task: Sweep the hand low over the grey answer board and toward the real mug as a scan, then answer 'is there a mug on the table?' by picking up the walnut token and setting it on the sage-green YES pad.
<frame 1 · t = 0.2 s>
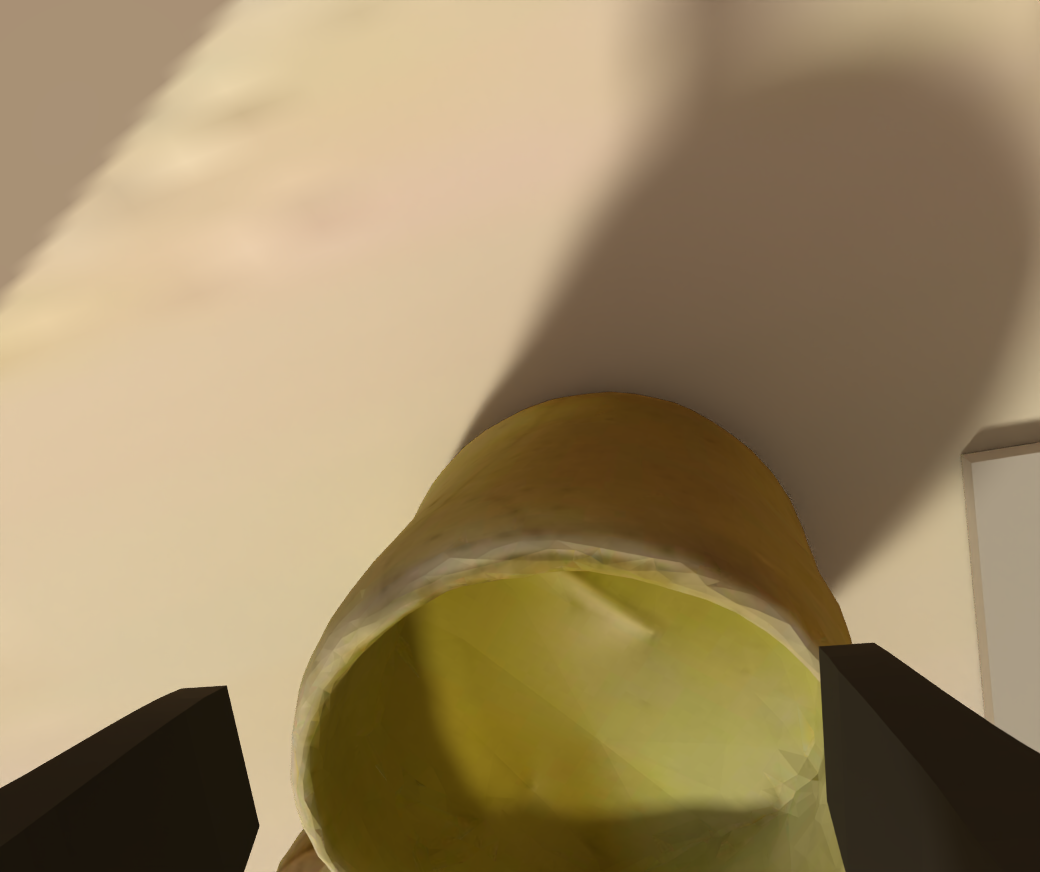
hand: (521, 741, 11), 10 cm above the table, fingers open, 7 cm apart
mug: (545, 611, 22), on the table
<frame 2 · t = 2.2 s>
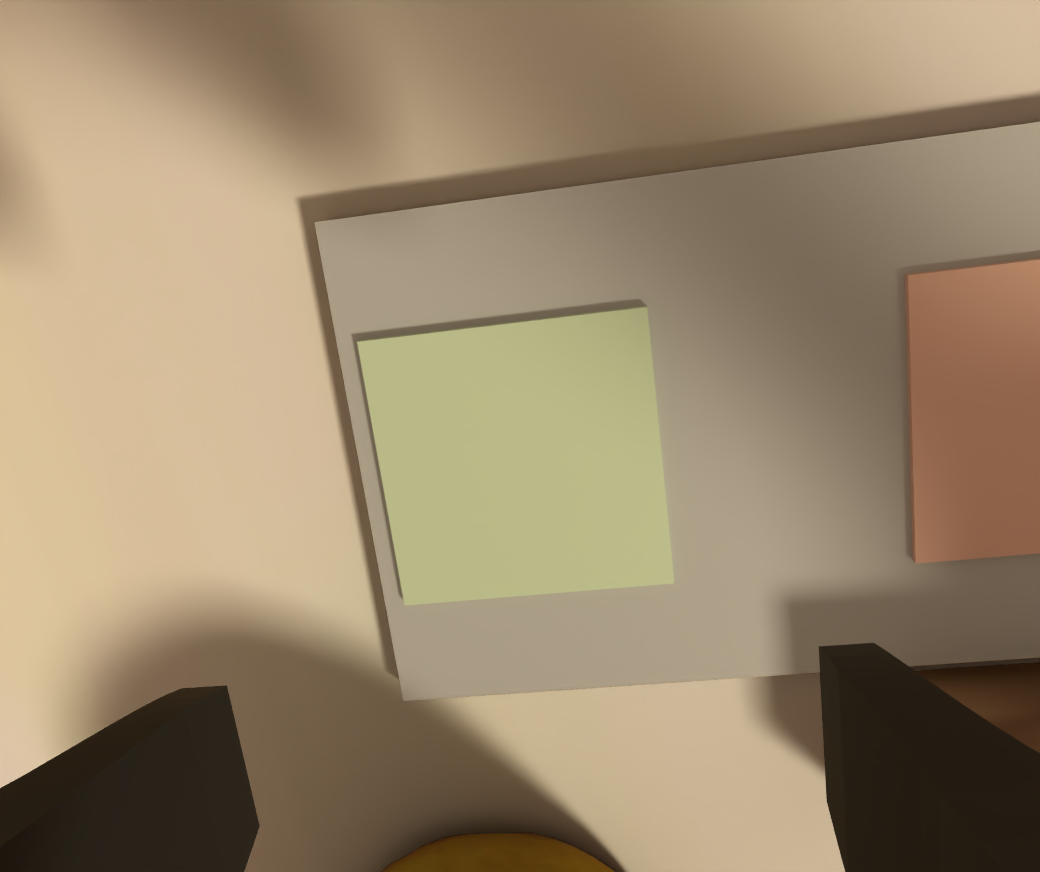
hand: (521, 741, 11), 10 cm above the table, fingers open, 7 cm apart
answer board: (777, 428, 20), on the table
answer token: (976, 742, 21), on the table
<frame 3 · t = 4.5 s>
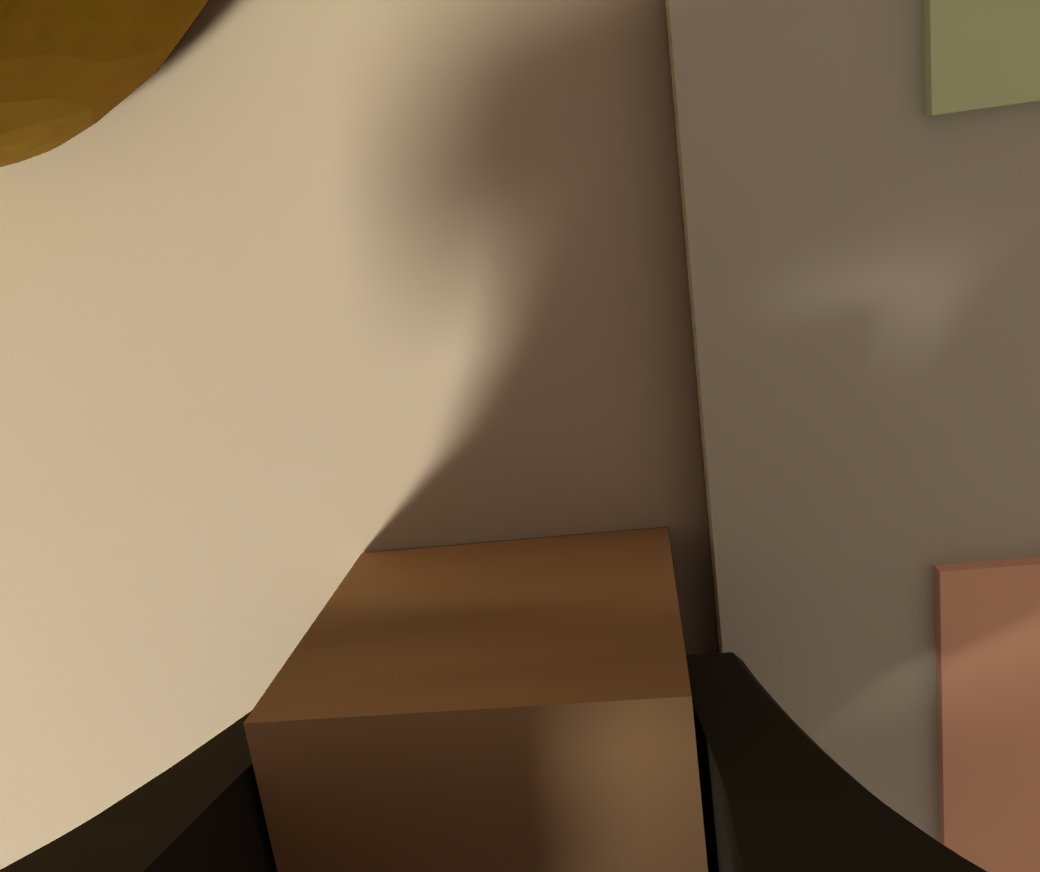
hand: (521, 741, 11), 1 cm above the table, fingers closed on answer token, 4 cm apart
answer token: (530, 679, 12), on the table, touching gripper
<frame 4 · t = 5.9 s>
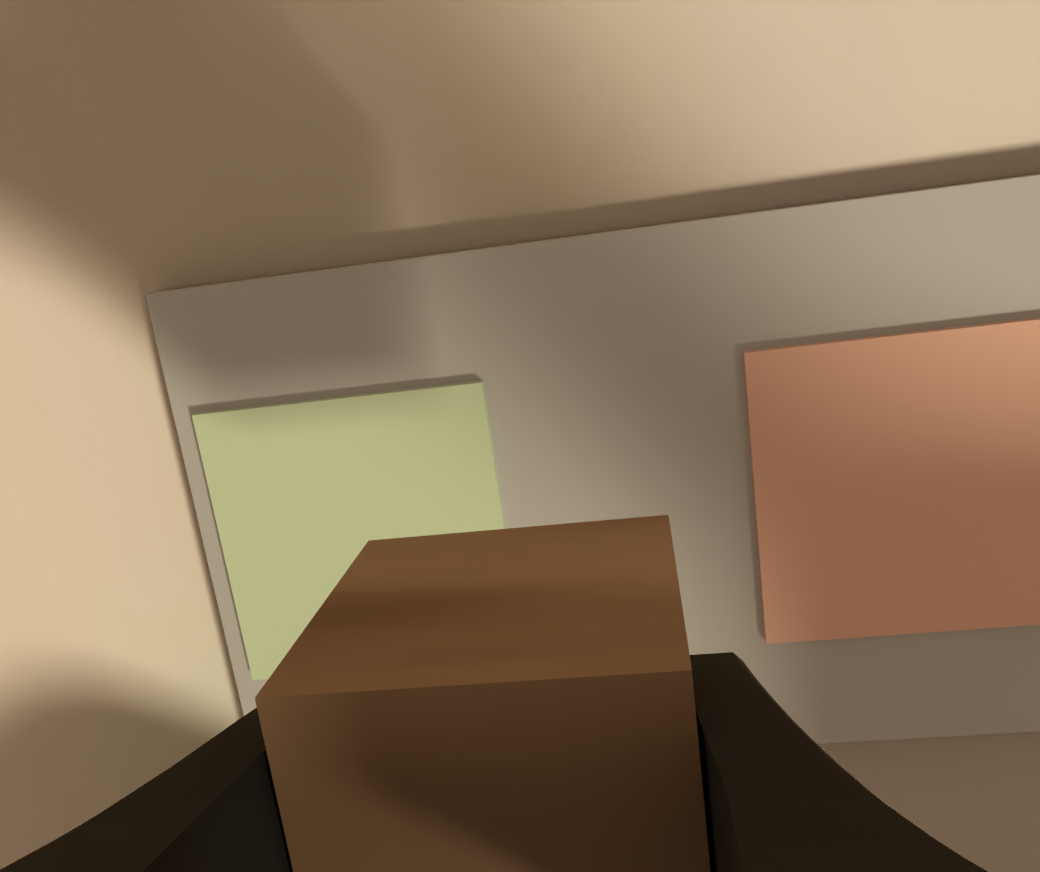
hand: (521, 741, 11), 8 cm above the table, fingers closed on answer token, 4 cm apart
answer board: (626, 502, 19), on the table
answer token: (534, 665, 13), point 7 cm above the table, touching gripper
when the fingers open (3 cm above the table, at t = 7.5 s): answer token stays where it is, resting on answer board.
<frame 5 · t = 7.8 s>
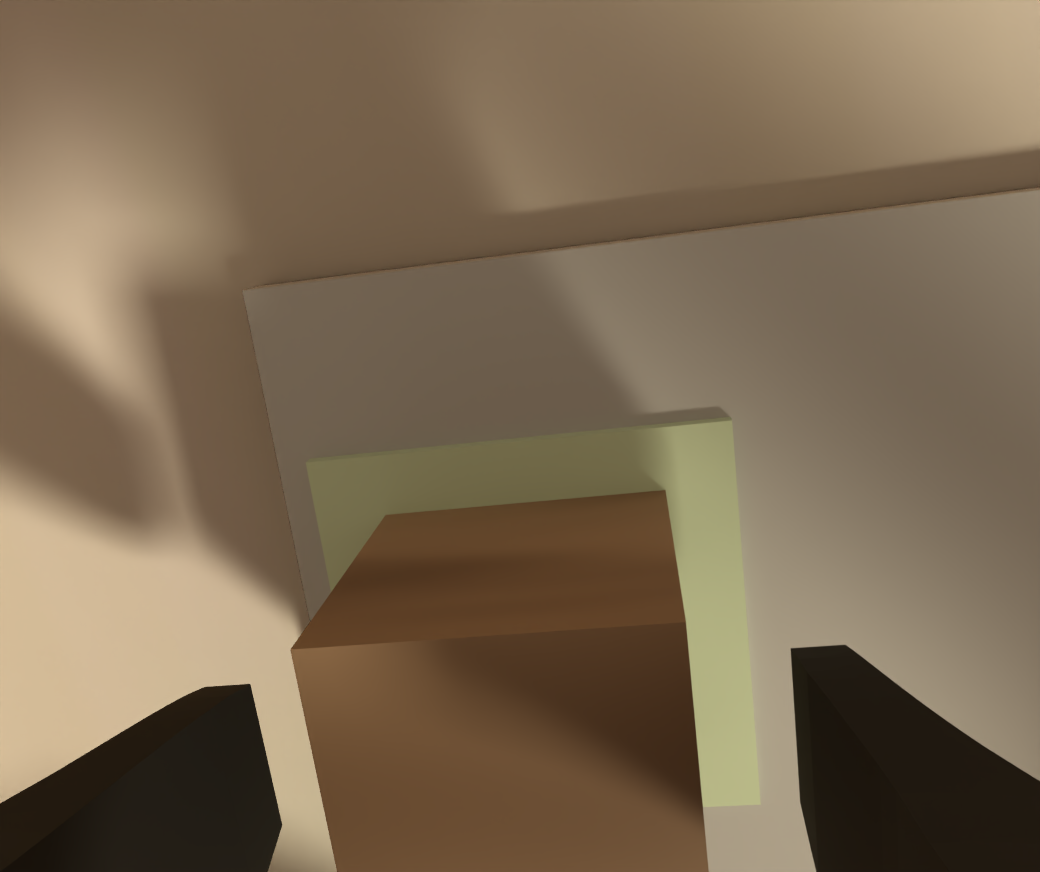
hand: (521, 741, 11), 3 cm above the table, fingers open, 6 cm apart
answer board: (912, 586, 14), on the table
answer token: (540, 631, 13), point 1 cm above the table, touching answer board
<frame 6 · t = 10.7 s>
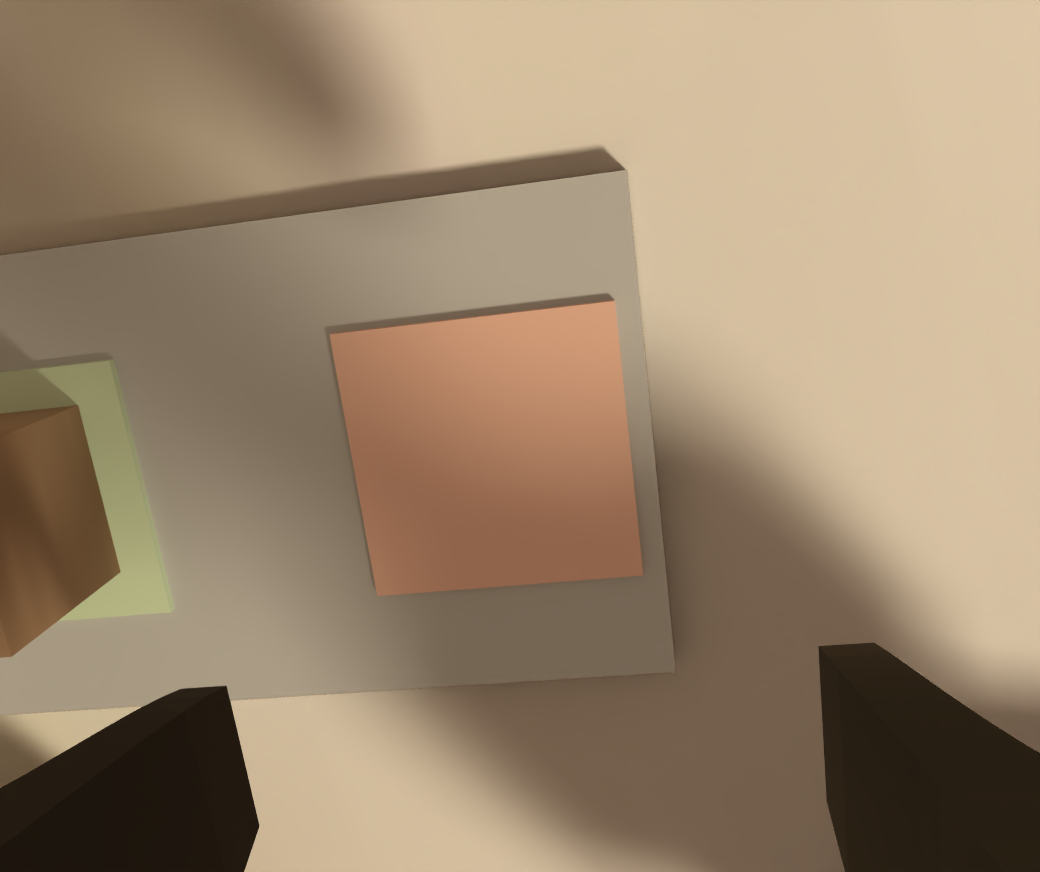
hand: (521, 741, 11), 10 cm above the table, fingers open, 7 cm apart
answer board: (259, 470, 21), on the table
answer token: (19, 498, 21), point 1 cm above the table, touching answer board
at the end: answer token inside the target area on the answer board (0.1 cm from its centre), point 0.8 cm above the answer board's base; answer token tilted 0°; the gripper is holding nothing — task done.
